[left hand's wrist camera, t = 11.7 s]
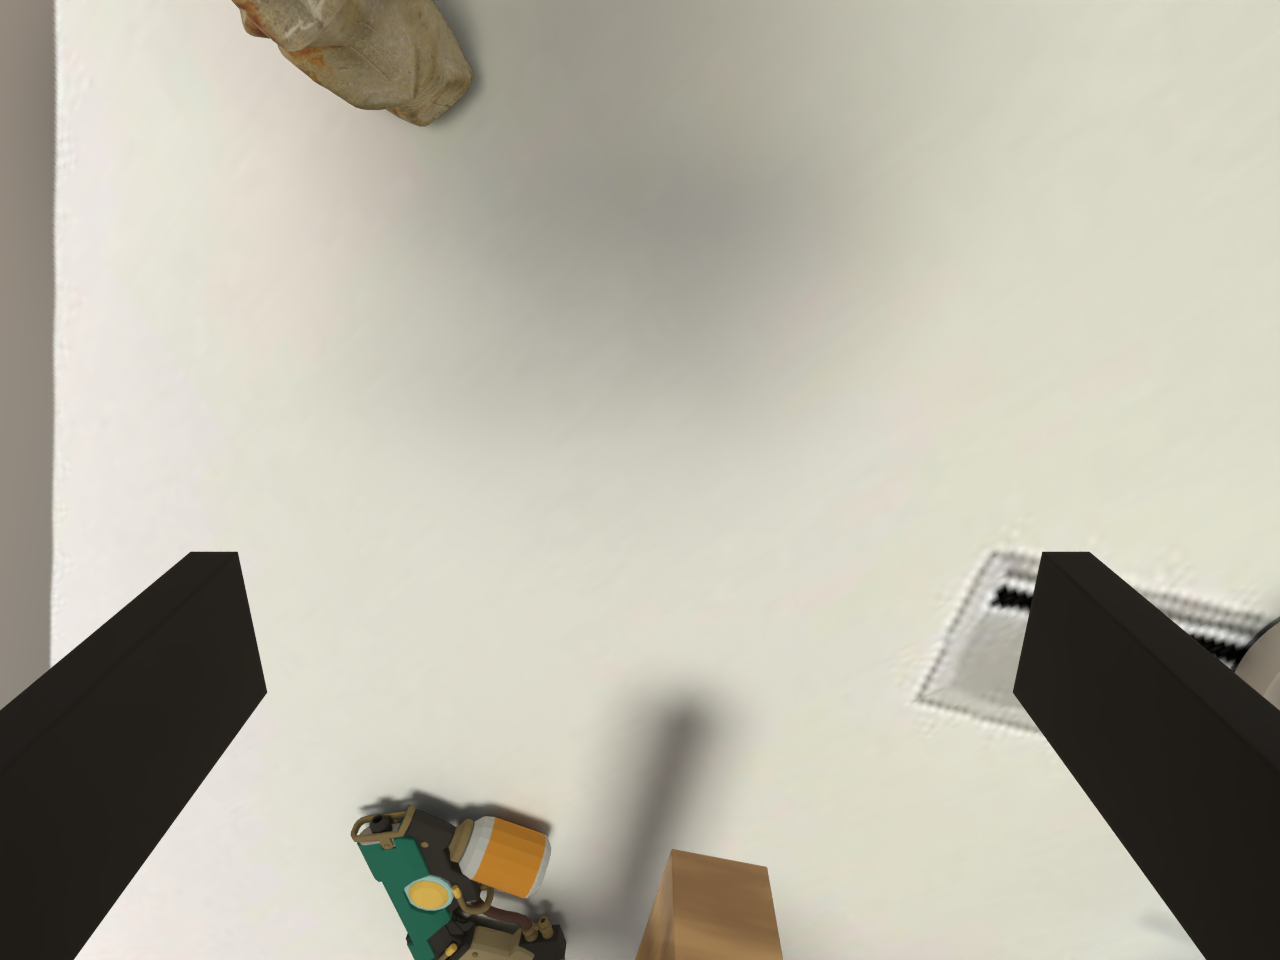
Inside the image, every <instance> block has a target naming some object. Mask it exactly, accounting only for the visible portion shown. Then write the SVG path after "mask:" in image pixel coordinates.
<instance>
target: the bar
mask: <svg viewBox="0 0 1280 960" xmlns="http://www.w3.org/2000/svg"><path fill="white" fill-rule="evenodd" d="M635 960H783V957H782V951H781V945H780V940H779V934H778V928H777V922H776V916H775V911H774V905H773V899H772V893H771V887H770V882H769V876H768V870H767V867H764V866H759V865H754V864H748V863H743V862H738V861H732V860H727V859H722V858H717V857H711V856H706V855H701V854H695V853H690V852H685V851H680V850H674V849H672V850H671V853H670V856H669V859H668V862H667V865H666V868H665V871H664V874H663V877H662V880H661V883H660V886H659V889H658V892H657V895H656V898H655V901H654V904H653V908H652V911H651V914H650V917H649V920H648V923H647V926H646V929H645V932H644V935H643V938H642V941H641V944H640V947H639V950H638V953H637V956H636V959H635Z"/></svg>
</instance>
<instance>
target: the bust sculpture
mask: <svg viewBox="0 0 1280 960" xmlns="http://www.w3.org/2000/svg"><path fill="white" fill-rule="evenodd" d="M1235 674H1237V675H1238V676H1239V677H1240V678H1241V679H1243V680H1244V681H1245V682H1246V683H1247V684H1249V685H1250V686H1251V687H1252V688H1253V689H1255V690H1256V691H1257V692H1258V693H1259V694H1261V695H1262V696H1263V697H1264V698H1265V699H1267V700H1268V701H1269V702H1270V703H1271V704H1273V705H1274V706H1275V707H1276V708H1277V709H1279V710H1280V622H1279V623H1277V624H1276V625H1274V626H1273V627H1272V628H1271V629H1269V630H1268V631H1267V632H1266V633H1265V634H1263V635H1262V636H1261V637H1260V638H1259V639H1258V640H1257V641H1256V642H1255V643H1254V644H1253V645H1252V646H1251V648H1250V649H1249V650H1248V651H1247V653H1246V654H1245V655H1244V657H1243V658H1242V660H1241V661H1240V663H1239V665H1238V667H1237V669H1236V671H1235Z"/></svg>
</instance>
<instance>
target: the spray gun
mask: <svg viewBox="0 0 1280 960" xmlns="http://www.w3.org/2000/svg"><path fill="white" fill-rule="evenodd" d="M398 818H404V819H402V820H401V822H399V820H398ZM367 822H370V826H369V827H367V828H366V829H364V830H363V831H362V832H361V834H360V835H359V836H358V835H357V833H358V830H359V828H360V827H361V826H362V825H363V824H364V823H367ZM351 837H352V839H353V840H354V842H357V844H358V846H359V848H360V850H361V852H362V854H363V856H364V858H365V860H366V862H367V864H368V866H369V868H370V870H371V872H372V874H373V876H374V878H375V879H376V880H377V881H379V882H382V883H383V885H384V887H385V889H386V891H387V893H388V895H389V896H390V898H391V900H392V902H393V904H394V906H395V908H396V910H397V912H398V914H399V916H400V918H401V920H402V922H403V924H404V926H405V928H406V930H407V932H408V934H407V937H406V940H407V945H408V947H409V949H410V951H411V953H412V955H413V957H414V959H415V960H565V950H566V940H565V937H564V935H563V932H562V930H561V927H560V925H551V922H550V920H549V919H548V918H547V917H546V916H543V917H541V918H540V919H539V921H538V923H534V922H533V920H531V919H529V918H527V917H526V916H525V915H522V914H520V913H516V912H510V911H505V910H502V909H498V908H495V907H493V906H490V905H491V902H492V900H493V894H494V888H495V889H498V890H501V891H504V892H506V893H509V894H512V895H515V896H517V897H520V898H528V897H529V896H531V895H532V894H533V893H535V892H536V891H537V889H538V888H539V886H540V884H541V882H542V880H543V877H544V875H545V872H546V869H547V866H548V863H549V859H550V855H551V845H550V843H549V840H548V838H547V836H546V835H545V834H543V833H540V832H537V831H534V830H531V829H528V828H525V827H523V826H520V825H517V824H514V823H511V822H508V821H505V820H502V819H499V818H496V817H489V816H484V817H482V818H480V819H478V820H477V821H475V822H474V823H473V820H471V819H466V820H464V821H463V822H462V823H461V824H460V825H459V826H457V827H455V826H453V825H452V824H450V823H448V822H445V821H443V820H441V819H438V818H436V817H434V816H431V815H429V814H427V813H424V812H422V811H420V810H415V807H413V806H409V807H408V808H407V810H406V811H402V812H394V813H386V814H378V815H370V816H365V817H362V818H360V819H359V820H357V822H356V823H355V824H354V826H353V829H352V831H351ZM478 882H479V883H480V884H478ZM482 890H488V892H487V897H486V900H485V902H484V901H483V900H482V899H481V898H480V893H481V891H482ZM468 901H469V902H471V903H472V904H473V906H474V907H473V906H469V905H467V903H466V902H468ZM459 906H460V907H461V908H462V910H463V911H464V912H466V913H469V914H475V915H476V914H484V915H486V916H488V917H491V918H494V919H497V920H501V921H505V922H511V923H516V924H519V925H521V928H520V929H518V930H517V931H516V932H515V933H514V934H510V933H506V932H502V931H498V930H494V929H490V928H487V927H483V926H476V923H475V921H474V919H473V918H470V919H468V920H463V919H461V918H458V917H457V916H455V915H454V914H453V910H454V909H456V908H457V907H459Z"/></svg>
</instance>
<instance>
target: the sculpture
mask: <svg viewBox="0 0 1280 960" xmlns="http://www.w3.org/2000/svg"><path fill="white" fill-rule="evenodd" d="M232 1H233V2H234V3H235V5H236V6H237V7H238V8H239V9H240V13H241V18H242V23H243V26H244V29H245V30H246V32H247V33H248V34H250V35H252V36H256V37H263V38H271V39H272V40H273V41H274V42H275V43H277V44H278V47H279V50H280V51H281V53H282V54H283V56H284V57H286V58H287V59H288V60H289V61H290V62H291V63H292V64H294V65H295V66H296V67H297V68H299V69H300V70H301V71H302V72H304V73H305V74H306V75H308V76H309V77H310V78H311V79H312V80H313V81H314V82H316V83H318V84H319V85H321V86H323V87H325V88H327V89H328V90H330V91H331V92H333V93H334V94H336V95H337V96H339V97H341V98H342V99H344V100H345V101H346V102H348V103H349V104H351V105H353V106H355V107H357V108H360V109H365V110H381V109H386V110H388V111H390V112H391V113H393V114H394V115H396V116H398V117H399V118H401V119H403V120H405V121H407V122H410V123H412V124H415V125H418V126H427V125H429V124H430V123H432V122H433V121H434V120H436V119H437V118H438V117H440V116H441V115H442V114H443V113H445V112H446V111H447V110H448V109H449V108H450V107H452V106H453V105H454V104H455V103H456V102H457V101H458V100H459V99H460V98H461V97H462V96H463V95H464V93H465V92H466V91H467V89H468V88H469V87H470V84H471V78H472V77H473V72H472V69H471V68H470V66H469V64H468V63H467V61H466V59H465V58H464V56H463V53H462V51H461V49H460V46H459V44H458V42H457V40H456V39H455V37H454V35H453V33H452V31H451V29H450V28H449V26H448V24H447V23H446V21H445V19H444V18H443V16H442V15H441V13H440V12H439V10H438V9H437V7H436V6H435V4H434V3H433V1H432V0H232Z"/></svg>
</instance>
